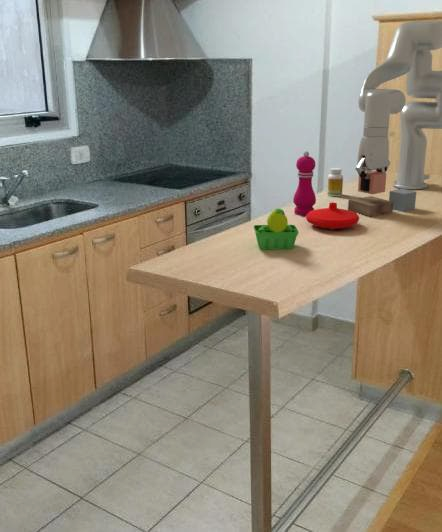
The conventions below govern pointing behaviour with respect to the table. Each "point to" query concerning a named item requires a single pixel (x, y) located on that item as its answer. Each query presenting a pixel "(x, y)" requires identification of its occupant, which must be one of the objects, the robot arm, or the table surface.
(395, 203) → the grey cube
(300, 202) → the pepper mill
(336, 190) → the supplement bottle
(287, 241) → the fruit basket
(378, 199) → the walnut block
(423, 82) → the robot arm
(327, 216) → the flat cone with hole
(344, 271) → the table surface
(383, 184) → the salmon pink cube
